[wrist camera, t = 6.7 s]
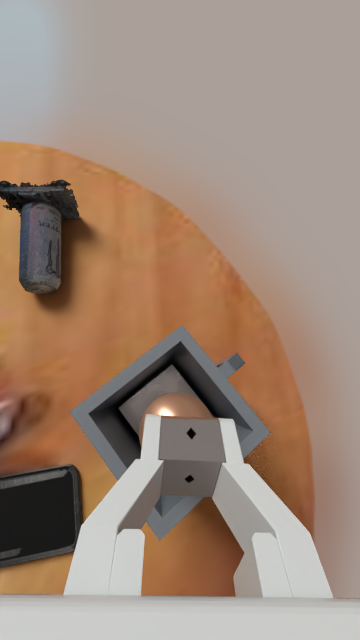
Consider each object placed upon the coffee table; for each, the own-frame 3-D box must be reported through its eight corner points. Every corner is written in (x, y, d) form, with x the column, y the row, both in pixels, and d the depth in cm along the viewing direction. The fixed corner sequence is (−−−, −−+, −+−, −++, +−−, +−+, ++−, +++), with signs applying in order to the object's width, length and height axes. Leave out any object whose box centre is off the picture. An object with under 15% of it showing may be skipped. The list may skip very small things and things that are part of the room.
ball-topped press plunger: (119, 407, 26) (80, 421, 13) (171, 365, 28) (186, 338, 14) (160, 464, 25) (166, 544, 12) (213, 417, 27) (270, 441, 13)
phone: (-81, 492, 27) (76, 464, 29) (-72, 488, 28) (79, 461, 30) (-88, 587, 25) (81, 551, 27) (-78, 579, 26) (84, 545, 28)
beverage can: (28, 218, 38) (29, 302, 36) (-16, 181, 31) (-19, 283, 28) (91, 208, 37) (96, 292, 35) (62, 166, 30) (66, 270, 28)
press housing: (109, 403, 31) (69, 411, 17) (186, 342, 34) (209, 303, 20) (157, 470, 30) (159, 540, 16) (234, 400, 33) (297, 406, 18)
